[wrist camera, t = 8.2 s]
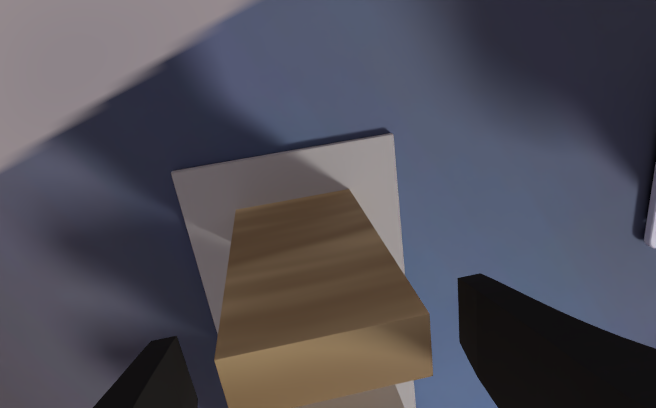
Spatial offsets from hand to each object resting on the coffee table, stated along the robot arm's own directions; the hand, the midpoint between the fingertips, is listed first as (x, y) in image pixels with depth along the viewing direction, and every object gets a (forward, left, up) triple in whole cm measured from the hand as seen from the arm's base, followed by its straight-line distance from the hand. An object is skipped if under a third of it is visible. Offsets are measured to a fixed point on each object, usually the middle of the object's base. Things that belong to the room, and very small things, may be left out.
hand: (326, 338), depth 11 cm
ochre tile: (0, 0, -8) cm, 8 cm away
